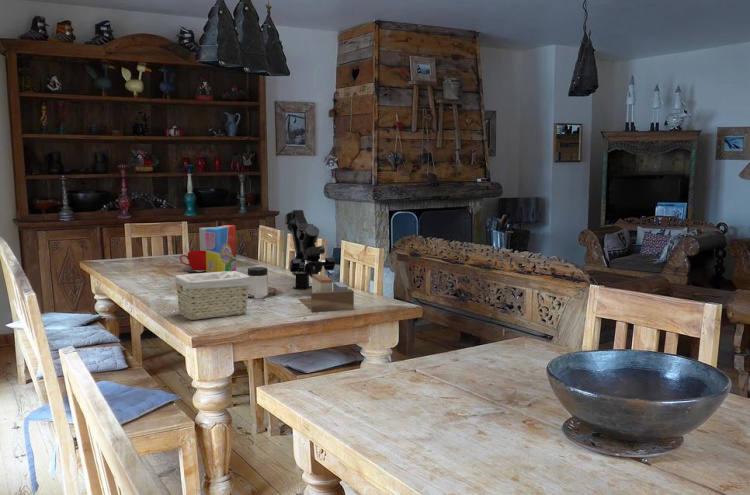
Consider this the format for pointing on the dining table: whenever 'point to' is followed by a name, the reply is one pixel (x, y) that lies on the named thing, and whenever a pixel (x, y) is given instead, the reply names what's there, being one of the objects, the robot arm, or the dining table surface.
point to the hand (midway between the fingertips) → (316, 280)
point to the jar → (258, 282)
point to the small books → (340, 287)
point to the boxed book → (321, 283)
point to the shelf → (330, 301)
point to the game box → (220, 249)
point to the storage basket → (212, 294)
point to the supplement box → (203, 238)
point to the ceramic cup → (196, 260)
